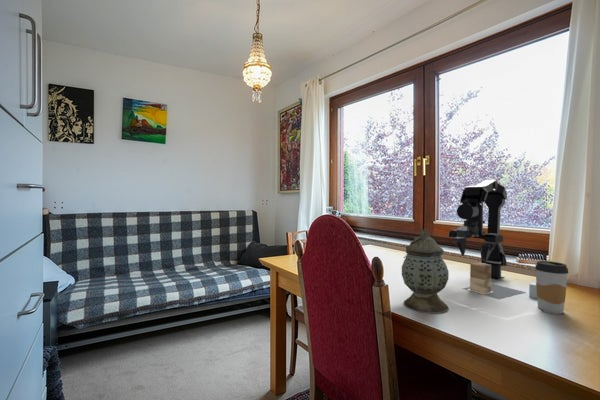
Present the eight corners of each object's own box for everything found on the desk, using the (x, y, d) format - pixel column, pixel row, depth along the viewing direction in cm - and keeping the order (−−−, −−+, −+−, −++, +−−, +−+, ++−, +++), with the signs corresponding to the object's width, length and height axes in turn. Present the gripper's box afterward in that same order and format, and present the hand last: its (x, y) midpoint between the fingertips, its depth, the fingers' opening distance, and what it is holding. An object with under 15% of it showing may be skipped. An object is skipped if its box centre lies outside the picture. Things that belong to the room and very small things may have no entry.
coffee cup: (560, 307, 101) (561, 261, 101) (573, 317, 93) (574, 267, 93) (530, 304, 104) (530, 259, 104) (540, 313, 96) (541, 264, 96)
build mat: (488, 283, 129) (488, 282, 129) (526, 293, 116) (526, 292, 116) (461, 289, 120) (461, 288, 120) (498, 300, 108) (499, 299, 108)
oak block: (477, 288, 121) (478, 275, 121) (491, 291, 117) (491, 278, 116) (470, 289, 119) (470, 276, 119) (483, 293, 114) (483, 279, 114)
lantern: (427, 317, 92) (428, 232, 92) (392, 302, 105) (393, 228, 104) (458, 309, 98) (459, 230, 98) (421, 296, 111) (422, 226, 111)
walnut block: (478, 275, 121) (478, 262, 121) (491, 278, 117) (491, 265, 116) (470, 276, 119) (470, 263, 118) (483, 279, 114) (483, 266, 114)
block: (532, 295, 114) (532, 281, 114) (549, 298, 111) (549, 284, 111) (529, 298, 111) (529, 284, 111) (546, 301, 107) (547, 287, 107)
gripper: (440, 217, 126) (439, 255, 126) (486, 220, 110) (486, 264, 110) (457, 216, 131) (456, 252, 132) (504, 219, 115) (503, 261, 115)
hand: (474, 257), depth 122 cm, fingers open, 9 cm apart
